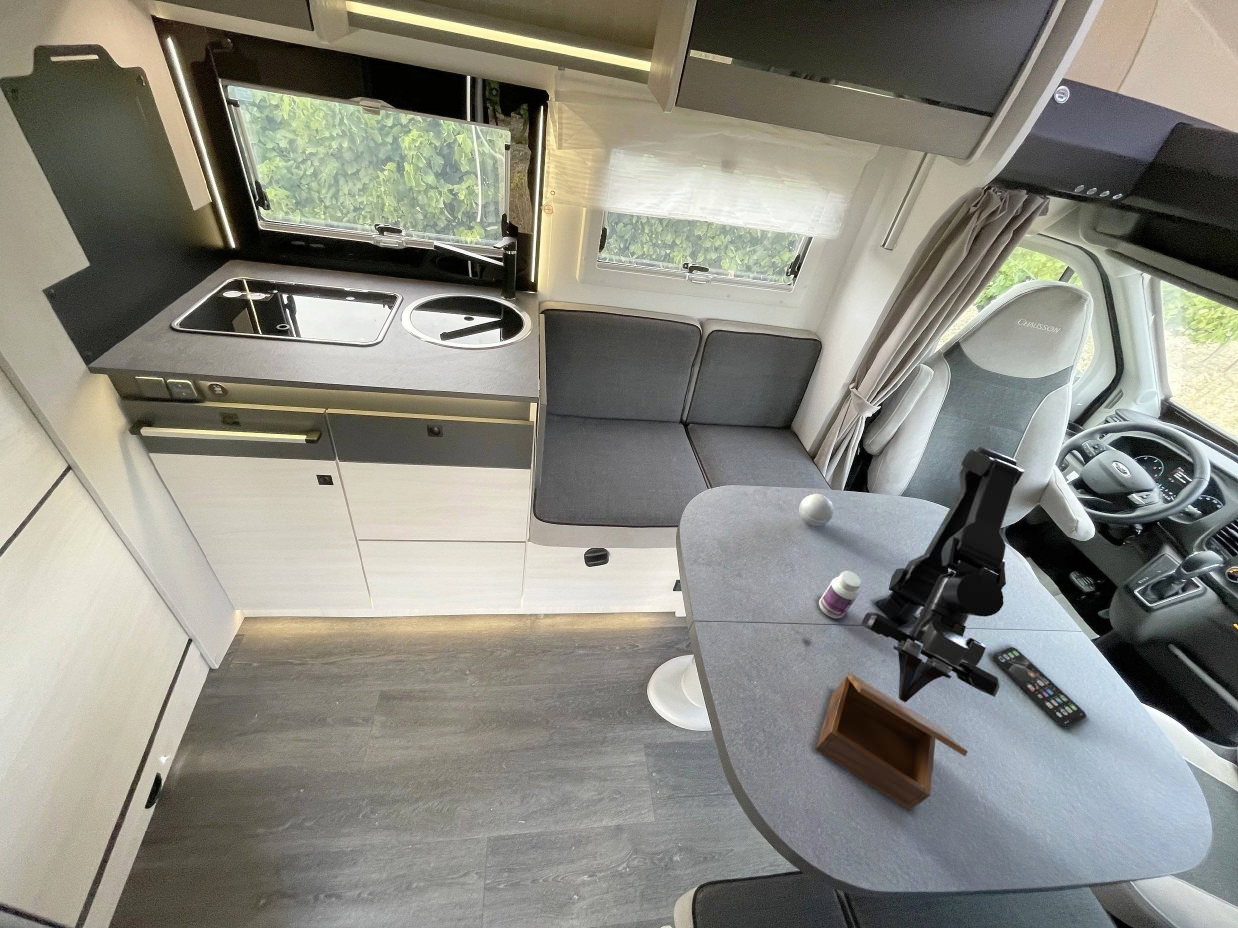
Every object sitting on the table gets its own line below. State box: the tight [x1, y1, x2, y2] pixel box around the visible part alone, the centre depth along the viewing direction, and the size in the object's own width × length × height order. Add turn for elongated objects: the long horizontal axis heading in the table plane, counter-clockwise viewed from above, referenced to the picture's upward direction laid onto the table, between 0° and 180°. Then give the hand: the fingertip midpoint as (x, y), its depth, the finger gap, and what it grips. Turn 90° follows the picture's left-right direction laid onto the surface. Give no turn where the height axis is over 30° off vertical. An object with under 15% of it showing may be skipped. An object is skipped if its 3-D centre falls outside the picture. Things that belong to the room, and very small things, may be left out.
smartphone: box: [991, 646, 1087, 728], centre depth 96 cm, size 7×1×15 cm
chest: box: [815, 675, 936, 811], centre depth 80 cm, size 12×15×6 cm
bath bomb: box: [798, 493, 835, 527], centre depth 123 cm, size 8×8×8 cm
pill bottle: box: [818, 570, 862, 619], centre depth 101 cm, size 5×5×10 cm
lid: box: [846, 672, 969, 757], centre depth 76 cm, size 12×15×1 cm
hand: (901, 700), depth 77 cm, fingers closed
